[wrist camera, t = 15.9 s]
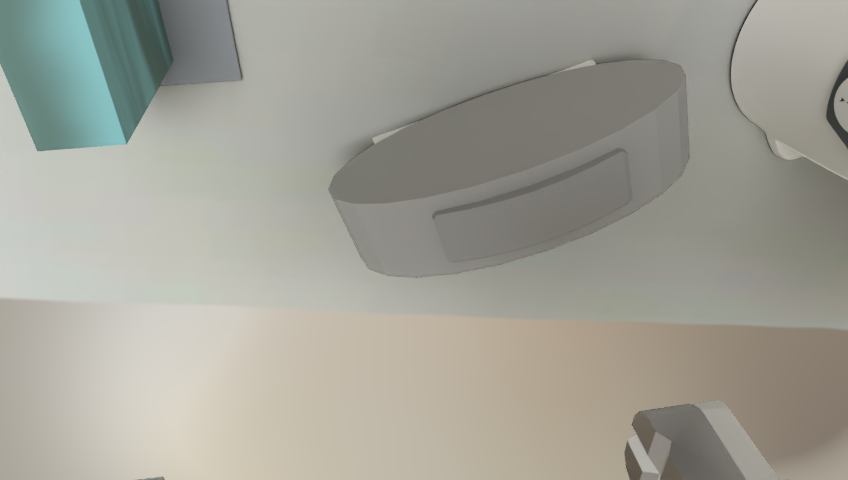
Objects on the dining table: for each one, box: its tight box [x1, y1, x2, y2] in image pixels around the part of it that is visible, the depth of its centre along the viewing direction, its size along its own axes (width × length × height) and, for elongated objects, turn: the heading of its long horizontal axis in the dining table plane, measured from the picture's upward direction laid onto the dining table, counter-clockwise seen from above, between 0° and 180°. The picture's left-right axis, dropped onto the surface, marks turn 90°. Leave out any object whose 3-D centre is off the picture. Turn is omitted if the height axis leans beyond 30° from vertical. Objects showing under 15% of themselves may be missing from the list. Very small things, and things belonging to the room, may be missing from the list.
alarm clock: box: [328, 59, 690, 278], centre depth 40 cm, size 23×6×13 cm, turn 107°
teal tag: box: [0, 0, 173, 151], centre depth 31 cm, size 4×8×12 cm, turn 1°
